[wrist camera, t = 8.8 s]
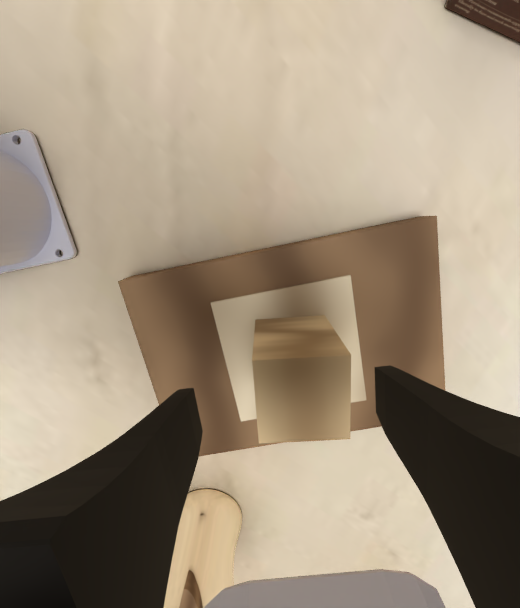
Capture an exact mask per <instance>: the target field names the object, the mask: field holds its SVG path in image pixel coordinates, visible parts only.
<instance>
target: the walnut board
mask: <svg viewBox="0 0 520 608" xmlns="http://www.w3.org/2000/svg"><path fill="white" fill-rule="evenodd" d="M118 283H119V286H120V289H121V292H122V295H123V298H124V301H125V304H126V307H127V310H128V313H129V316H130V319H131V322H132V325H133V328H134V331H135V334H136V337H137V340H138V343H139V346H140V349H141V352H142V355H143V358H144V361H145V364H146V367H147V370H148V373H149V376H150V379H151V382H152V385H153V388H154V391H155V394H156V397H157V400H158V403H159V405H160V404H161V403H162V402H164V401H165V400H166V399H167V398H168V397H169V396H171V395H172V394H173V393H174V392H176V391H177V390H179V389H186V388H194V392H195V397H196V401H197V406H198V411H199V416H200V420H201V425H202V430H203V433H202V440H201V446H200V452H199V456H204V455H210V454H216V453H222V452H228V451H234V450H240V449H246V448H252V447H259V446H265V445H271V444H277V443H260V444H259V439H258V427H257V415H256V403H255V391H254V379H253V366H252V355H253V343H254V331H255V320H256V319H272V318H289V317H305V316H321V315H325V316H326V318H327V319H328V321H329V322H330V324H331V325H332V327H333V328H334V330H335V331H336V333H337V334H338V336H339V337H340V339H341V340H342V342H343V343H344V345H345V346H346V348H347V349H348V351H349V352H350V354H351V415H350V431H356V430H362V429H368V428H374V427H380V426H382V425H381V423H380V421H379V418H378V416H377V414H376V399H375V367H380V366H389V365H391V366H393V367H396V368H398V369H400V370H403V371H405V372H407V373H409V374H411V375H413V376H415V377H417V378H419V379H421V380H423V381H425V382H427V383H429V384H431V385H434V386H436V387H438V388H440V389H442V390H445V376H444V355H443V335H442V315H441V294H440V274H439V254H438V233H437V216H420V217H415V218H410V219H405V220H400V221H396V222H391V223H386V224H381V225H376V226H371V227H367V228H362V229H357V230H352V231H347V232H342V233H338V234H333V235H328V236H323V237H318V238H313V239H309V240H304V241H299V242H294V243H289V244H284V245H280V246H275V247H270V248H265V249H260V250H255V251H251V252H246V253H241V254H236V255H231V256H226V257H222V258H217V259H212V260H207V261H202V262H197V263H193V264H188V265H183V266H178V267H173V268H168V269H164V270H159V271H154V272H149V273H144V274H139V275H134V276H131V277H128V278H126V279H123V280H121V281H118ZM280 443H283V442H280Z"/></svg>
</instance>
